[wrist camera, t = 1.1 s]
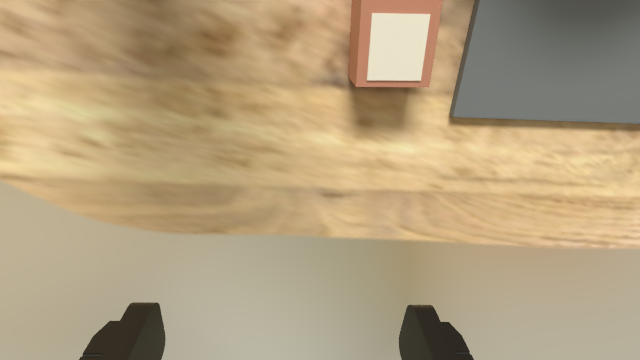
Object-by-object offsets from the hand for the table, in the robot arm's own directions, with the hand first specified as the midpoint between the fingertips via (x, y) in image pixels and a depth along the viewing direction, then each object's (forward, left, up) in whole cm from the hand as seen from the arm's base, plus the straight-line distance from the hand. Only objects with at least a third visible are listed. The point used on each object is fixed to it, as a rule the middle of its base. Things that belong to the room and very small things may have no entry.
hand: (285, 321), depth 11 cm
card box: (-9, +7, -22) cm, 25 cm away
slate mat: (-9, +24, -22) cm, 34 cm away
